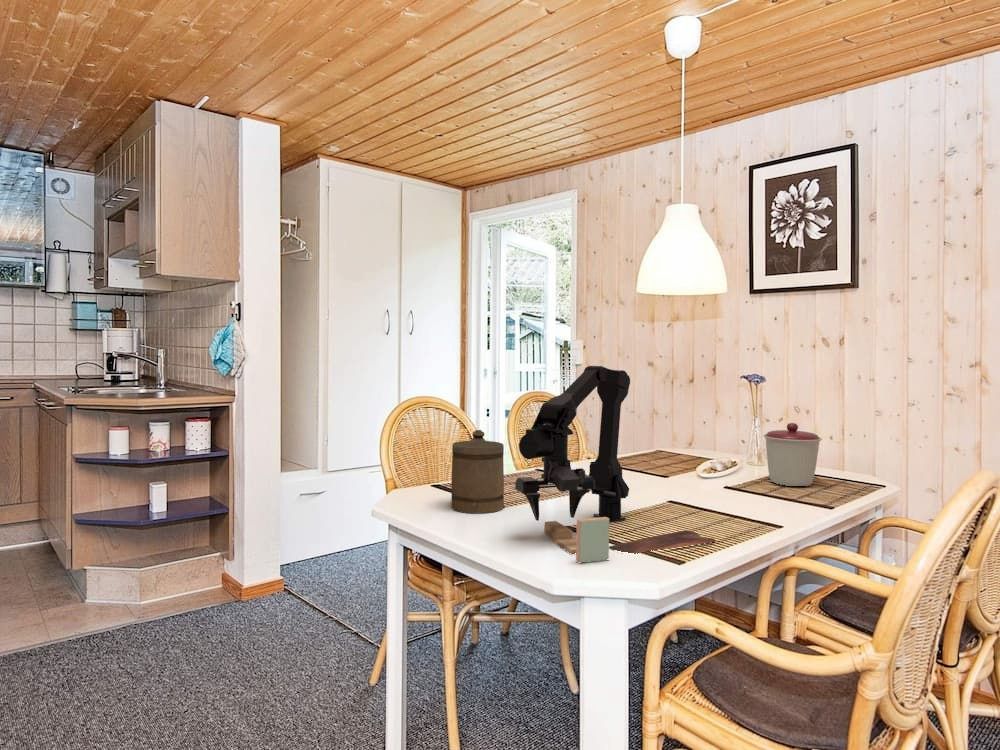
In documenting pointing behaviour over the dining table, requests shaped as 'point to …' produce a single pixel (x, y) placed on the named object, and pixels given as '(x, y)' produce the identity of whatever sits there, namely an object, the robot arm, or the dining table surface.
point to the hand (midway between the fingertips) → (554, 518)
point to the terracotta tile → (592, 539)
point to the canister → (792, 456)
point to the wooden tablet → (662, 542)
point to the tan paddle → (561, 535)
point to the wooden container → (477, 475)
